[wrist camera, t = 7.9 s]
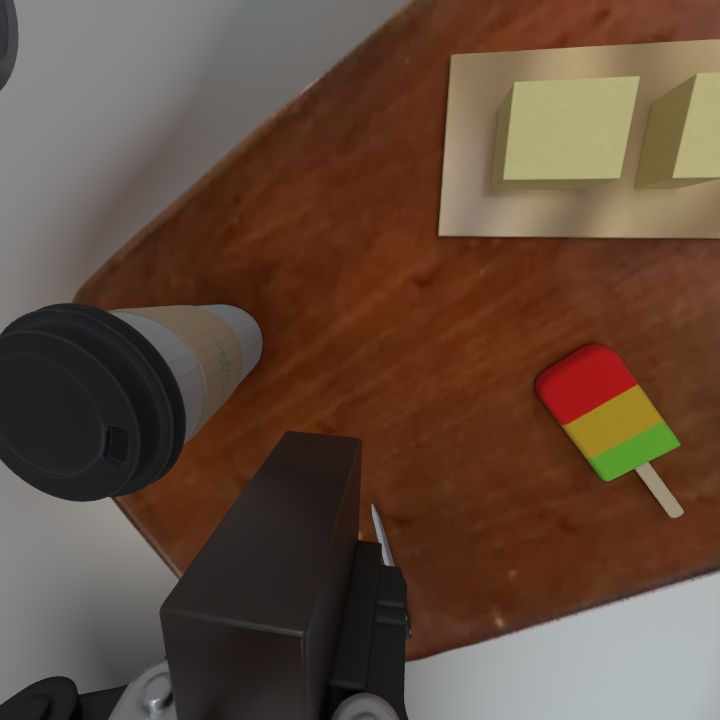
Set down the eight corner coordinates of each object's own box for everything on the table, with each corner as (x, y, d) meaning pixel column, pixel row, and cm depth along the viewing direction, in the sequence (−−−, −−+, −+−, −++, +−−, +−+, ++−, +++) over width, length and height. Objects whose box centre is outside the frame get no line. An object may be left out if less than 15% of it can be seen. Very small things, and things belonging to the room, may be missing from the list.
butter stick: (490, 190, 23) (502, 180, 20) (499, 106, 22) (513, 81, 18) (590, 189, 22) (620, 179, 19) (605, 102, 21) (641, 75, 18)
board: (437, 236, 25) (438, 236, 24) (449, 62, 22) (450, 54, 21) (734, 239, 23) (748, 239, 22) (791, 43, 20) (810, 33, 19)
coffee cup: (295, 388, 30) (185, 513, 16) (192, 399, 32) (9, 520, 18) (268, 270, 28) (109, 293, 13) (158, 289, 29) (-85, 327, 15)
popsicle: (596, 334, 25) (610, 341, 24) (707, 490, 27) (727, 507, 26) (525, 379, 27) (533, 388, 25) (634, 523, 29) (648, 541, 27)
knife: (370, 492, 32) (367, 507, 30) (378, 491, 32) (375, 506, 30) (405, 622, 35) (404, 643, 34) (412, 622, 35) (412, 643, 33)
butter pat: (633, 189, 22) (672, 178, 19) (652, 101, 21) (697, 72, 17) (678, 188, 22) (725, 177, 18) (699, 99, 20) (755, 69, 17)
